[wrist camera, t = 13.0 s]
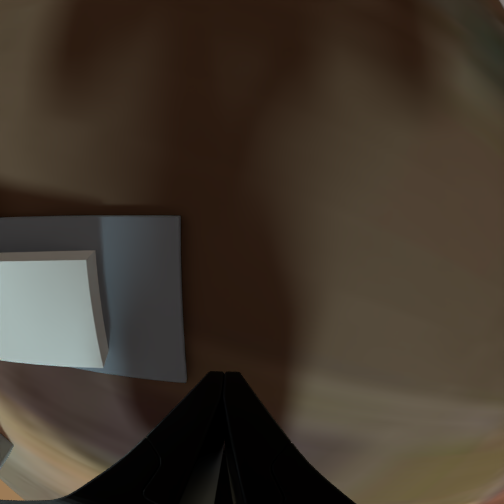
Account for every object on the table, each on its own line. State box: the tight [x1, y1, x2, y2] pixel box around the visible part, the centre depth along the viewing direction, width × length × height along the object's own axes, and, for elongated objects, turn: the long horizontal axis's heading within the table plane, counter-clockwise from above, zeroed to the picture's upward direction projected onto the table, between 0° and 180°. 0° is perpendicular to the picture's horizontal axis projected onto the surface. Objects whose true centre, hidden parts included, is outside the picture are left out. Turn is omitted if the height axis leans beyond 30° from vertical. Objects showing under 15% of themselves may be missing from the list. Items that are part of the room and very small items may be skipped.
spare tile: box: [0, 250, 109, 368], centre depth 11 cm, size 2×5×8 cm
